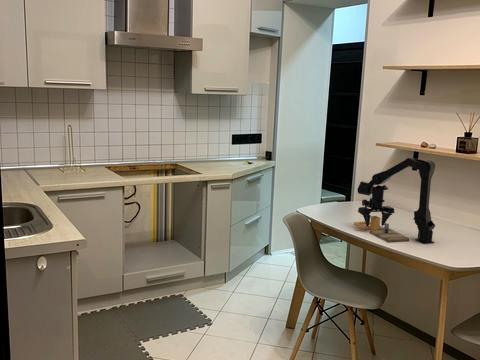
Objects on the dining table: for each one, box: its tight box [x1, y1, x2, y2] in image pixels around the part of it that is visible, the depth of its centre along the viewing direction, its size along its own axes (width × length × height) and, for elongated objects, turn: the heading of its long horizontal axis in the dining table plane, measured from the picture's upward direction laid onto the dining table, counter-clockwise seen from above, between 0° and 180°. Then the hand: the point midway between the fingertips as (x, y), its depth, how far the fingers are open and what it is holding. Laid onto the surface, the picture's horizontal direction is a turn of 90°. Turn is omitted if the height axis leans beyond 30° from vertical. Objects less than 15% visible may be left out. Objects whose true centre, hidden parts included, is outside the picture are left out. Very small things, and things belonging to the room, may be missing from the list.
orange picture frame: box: [353, 215, 382, 230], centre depth 252 cm, size 14×10×7 cm
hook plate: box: [369, 222, 410, 244], centre depth 236 cm, size 16×12×6 cm
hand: (374, 226), depth 247 cm, fingers open, 9 cm apart
